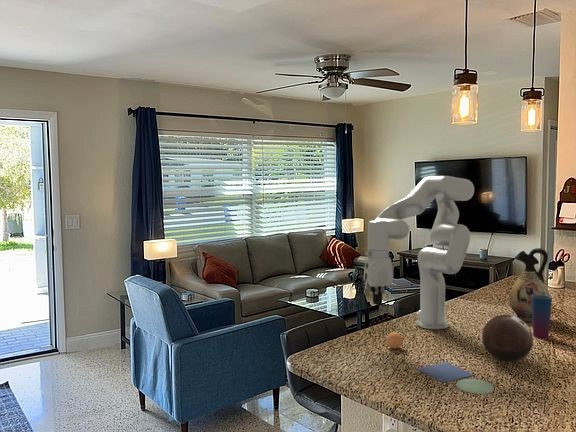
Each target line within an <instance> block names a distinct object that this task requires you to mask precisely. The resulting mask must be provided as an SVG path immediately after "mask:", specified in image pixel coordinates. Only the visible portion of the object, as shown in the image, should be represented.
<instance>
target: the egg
mask: <svg viewBox="0 0 576 432" xmlns="http://www.w3.org/2000/svg"><path fill="white" fill-rule="evenodd" d="M403 338H404V337H403V336H402V335H401V334H400V333H399V332H397V331H393V332H390V333H389V334H388V335H387V337H386V344H387V345H388V347H390V348H391V349H394V350H395V349H396V350H397V349H399V348H401V346H402V345H403V343H404V339H403Z"/></svg>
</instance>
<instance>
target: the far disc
mask: <svg viewBox="0 0 576 432" xmlns="http://www.w3.org/2000/svg"><path fill="white" fill-rule="evenodd" d="M455 386H456V387H457V388H458V389H459V390H460V391H463V392H465V393H469V394H473V395H486V394H490V393H492V392H493V391H494V389H495V388H494V386H493V384H491V383H489V382H487V381H485V380H481V379H478V378H477V379H475V378H462V379H459V380H457V382H456V384H455Z"/></svg>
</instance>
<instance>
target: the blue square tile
mask: <svg viewBox="0 0 576 432" xmlns="http://www.w3.org/2000/svg"><path fill="white" fill-rule="evenodd" d="M416 370H417V371H419V372H421V373H423V374H425V375H427V376H429V377H431V378H433V379H435V380H437V381H439V382H441V383H443V384H445V383H449V382H453V381H459V380H463V379H467V378H470V377H474V376H475V374H474V373H471V372H469V371H467V370H465V369H462V368H461V367H458V366H455V365H454V364H451V363H449V362H447V361H445V362H440V363H436V364H431V365H427V366H423V367H422V366H421V367H418V368H416Z"/></svg>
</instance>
